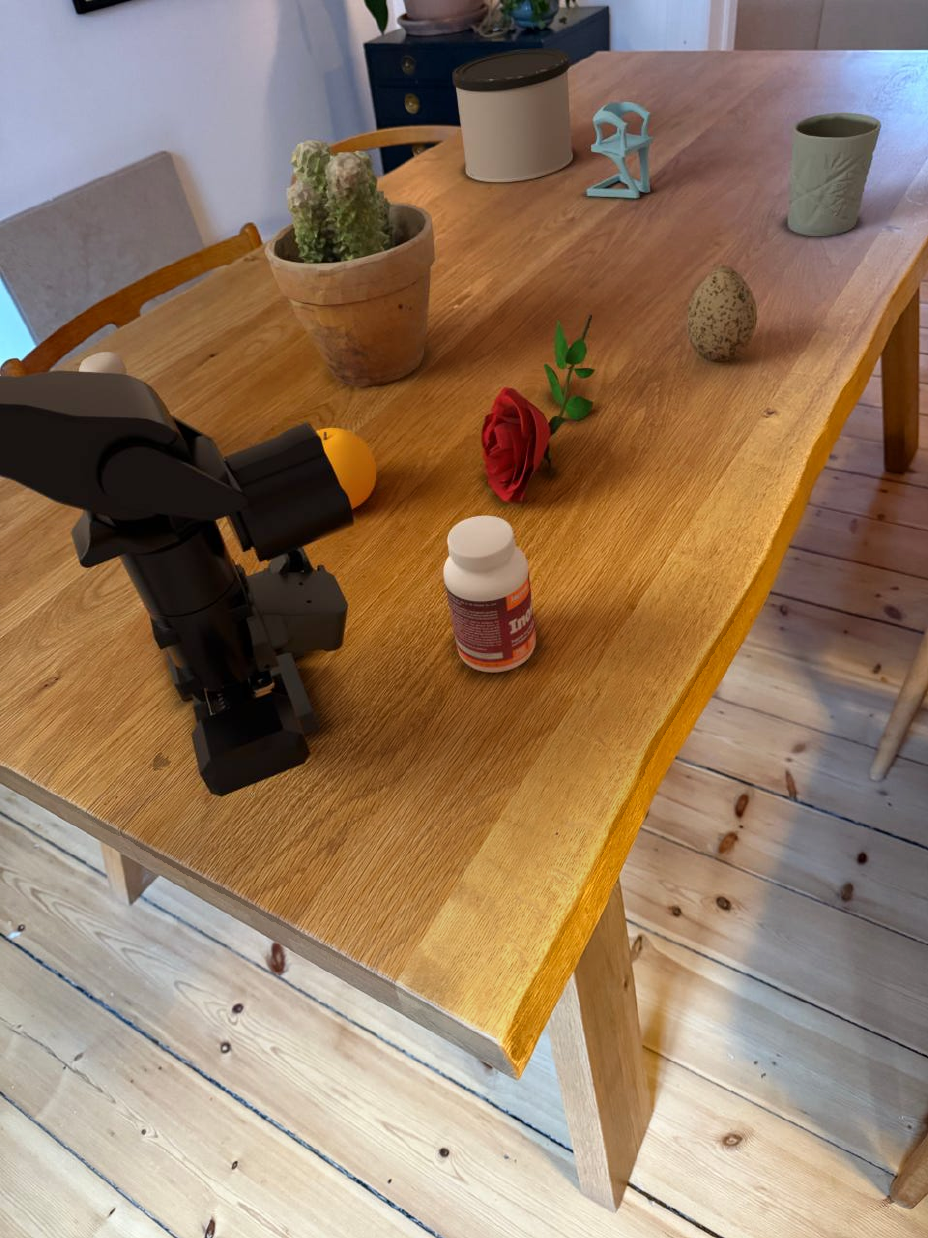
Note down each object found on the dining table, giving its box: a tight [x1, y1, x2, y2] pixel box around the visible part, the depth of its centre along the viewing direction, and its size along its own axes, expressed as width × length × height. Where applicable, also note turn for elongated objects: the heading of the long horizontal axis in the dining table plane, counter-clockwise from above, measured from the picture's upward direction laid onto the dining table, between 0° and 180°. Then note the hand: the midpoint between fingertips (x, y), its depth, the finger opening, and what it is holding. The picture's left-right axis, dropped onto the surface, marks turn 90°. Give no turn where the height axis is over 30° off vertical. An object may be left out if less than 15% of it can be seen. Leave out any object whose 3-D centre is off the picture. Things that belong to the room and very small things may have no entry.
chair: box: [586, 101, 654, 199], centre depth 133 cm, size 8×8×12 cm
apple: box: [315, 427, 377, 510], centre depth 84 cm, size 8×8×8 cm
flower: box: [480, 314, 596, 503], centre depth 89 cm, size 9×10×30 cm
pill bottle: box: [442, 515, 537, 673], centre depth 66 cm, size 6×6×11 cm
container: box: [451, 48, 574, 183], centre depth 149 cm, size 19×19×15 cm
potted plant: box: [264, 139, 436, 388], centre depth 98 cm, size 18×19×25 cm
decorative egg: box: [685, 265, 758, 362], centre depth 93 cm, size 7×7×10 cm
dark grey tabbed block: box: [192, 653, 321, 735], centre depth 68 cm, size 8×10×2 cm
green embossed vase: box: [787, 112, 882, 237], centre depth 114 cm, size 10×10×12 cm
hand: (265, 747), depth 64 cm, fingers closed
